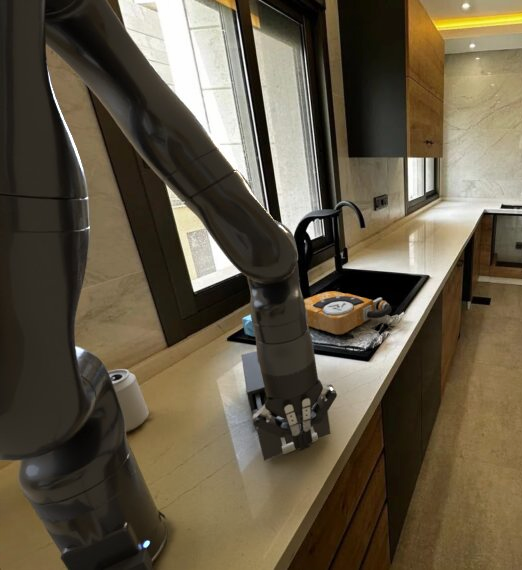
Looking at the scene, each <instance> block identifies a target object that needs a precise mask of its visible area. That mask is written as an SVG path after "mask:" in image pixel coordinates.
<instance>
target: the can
mask: <svg viewBox="0 0 522 570" xmlns="http://www.w3.org/2000/svg"><path fill="white" fill-rule="evenodd" d="M107 371H108V373H109V375H110V378H111V380H112V383H113V386H114V388H115V391H116V394H117V396H118V399H119V402H120V405H121V408H122V410H123V414H124V417H125V424H126V433H128V432H131V431H134V429H136V428H138V427H140V426H141V425H142V424H143V423H145V420H146V419H147V418H148V417H149V415H150V412H149V409H148V406H147V404H146V401H145V399H144V395H143V393H142V390H141V388H140V385H139V383H138V381H137V378H136V375H135V374H134V373H131V372H130V370H129V369H125V368H117V369H113V370H107Z"/></svg>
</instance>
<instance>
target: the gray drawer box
mask: <svg viewBox="0 0 522 570" xmlns="http://www.w3.org/2000/svg"><path fill="white" fill-rule="evenodd" d="M240 357H241V362H242V368H243V375H244V382H245V390H246V395H247V399H248V404H249V407H250V412H251V413H252V412H253V411H254V410H256V409H258V408H257V403H256V397H255V393H258V392H261V391H264V390H265V387H264V383H263V378H262V374H261V370H260V365H259V362H258V356H257V350H255V351H251V352H247V353H243V354H241V355H240ZM254 428H255V430H257V429H256V427H255V426H254Z"/></svg>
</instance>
